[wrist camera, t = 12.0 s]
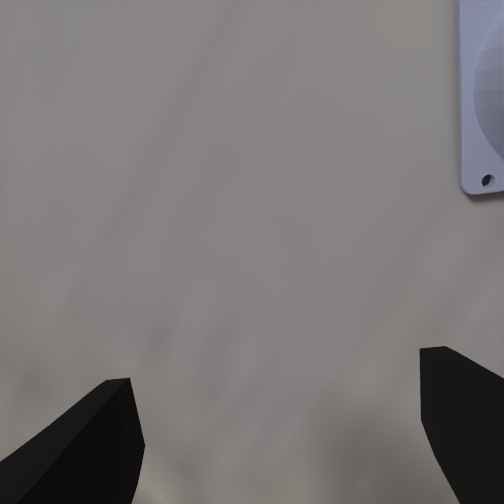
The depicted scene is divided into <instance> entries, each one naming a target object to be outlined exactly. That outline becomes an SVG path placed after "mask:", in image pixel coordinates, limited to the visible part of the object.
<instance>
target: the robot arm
mask: <svg viewBox="0 0 504 504" xmlns="http://www.w3.org/2000/svg"><path fill="white" fill-rule="evenodd" d="M456 13H457V72H458V131H459V184H460V188H461V189H462V191H463V192H465V193H467V194H470V195H479V194H486V193H493V192H501V191H504V0H456ZM488 174H489V175H490V178H491V179H490V182H489V184H488V185H486V186H483V185H482V179H483V177H484V176H486V175H488ZM420 394H421V421H422V424H423V427H424V429H425V432H426V435H427V437H428V440H429V443H430V445H431V448H432V450H433V453H434V455H435V458H436V460H437V462H438V463H439V465H440V467H441V469H442V471H443V473H444V475H445V477H446V478H447V480H448V482H449V484H450V486H451V488H452V490H453V492H454V493H455V495H456V497H457V499H458V501H459V503H460V504H504V378H502V377H500V376H498V375H497V374H495V373H493V372H491V371H490V370H488V369H486V368H484V367H482V366H481V365H479V364H477V363H476V362H474V361H472V360H470V359H469V358H467V357H465V356H463V355H461V354H460V353H458V352H456V351H454V350H452V349H450V348H448V347H446V346H441V347H431V348H421V349H420ZM144 449H145V443H144V438H143V434H142V429H141V425H140V421H139V416H138V412H137V407H136V403H135V398H134V394H133V389H132V385H131V381H130V378H122V379H112V380H106V381H104V382H103V383H101V384H100V385H98V386H97V387H96V388H94V389H93V390H92V391H91V392H89V393H88V394H87V395H86V396H84V397H83V398H82V399H81V400H80V401H78V402H77V403H76V404H75V405H73V406H72V407H71V408H70V409H69V410H67V411H66V412H65V413H64V414H62V415H61V416H60V417H59V418H58V419H56V420H55V421H54V422H53V423H51V424H50V425H49V426H48V427H46V428H45V429H44V430H42V431H41V432H40V433H38V434H37V435H36V436H34V437H33V438H32V439H30V440H29V441H28V442H26V443H25V444H24V445H22V446H21V447H20V448H18V449H17V450H16V451H14V452H13V453H12V454H10V455H9V456H8V457H6V458H5V459H3V460H2V461H0V504H131V503H132V500H133V497H134V494H135V491H136V488H137V485H138V480H139V475H140V471H141V466H142V460H143V455H144Z"/></svg>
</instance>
